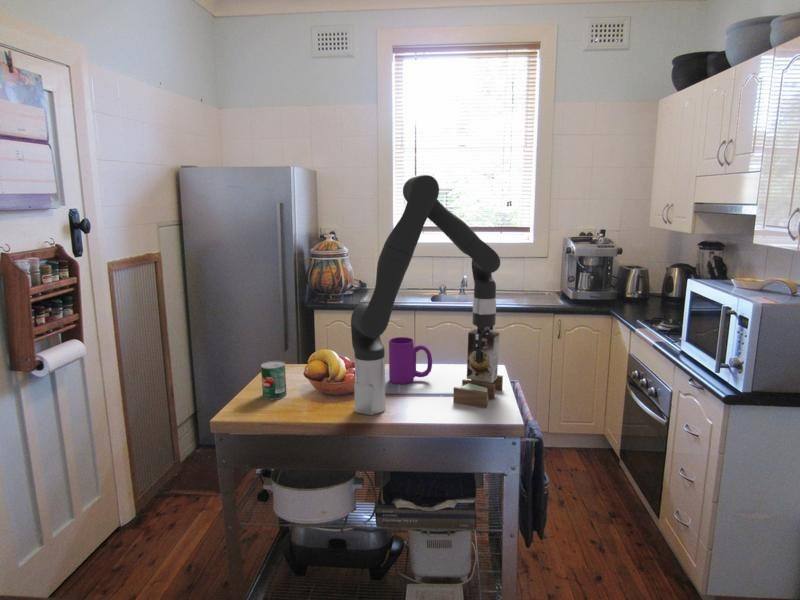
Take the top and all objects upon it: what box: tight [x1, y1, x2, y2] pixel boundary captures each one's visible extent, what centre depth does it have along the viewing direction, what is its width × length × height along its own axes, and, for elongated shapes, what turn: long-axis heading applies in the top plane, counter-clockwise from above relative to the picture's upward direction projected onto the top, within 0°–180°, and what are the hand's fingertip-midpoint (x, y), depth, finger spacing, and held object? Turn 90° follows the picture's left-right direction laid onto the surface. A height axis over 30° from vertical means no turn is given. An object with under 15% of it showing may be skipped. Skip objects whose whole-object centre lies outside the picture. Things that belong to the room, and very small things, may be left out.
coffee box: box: [466, 328, 500, 383], centre depth 176 cm, size 9×6×16 cm
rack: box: [452, 374, 504, 409], centre depth 174 cm, size 18×11×5 cm, turn 153°
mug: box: [388, 336, 433, 385], centre depth 189 cm, size 9×16×15 cm, turn 90°
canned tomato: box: [260, 360, 287, 401], centre depth 176 cm, size 8×8×11 cm
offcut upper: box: [460, 383, 487, 392], centre depth 170 cm, size 5×7×2 cm, turn 48°
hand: (482, 359), depth 176 cm, fingers closed on coffee box, 6 cm apart
